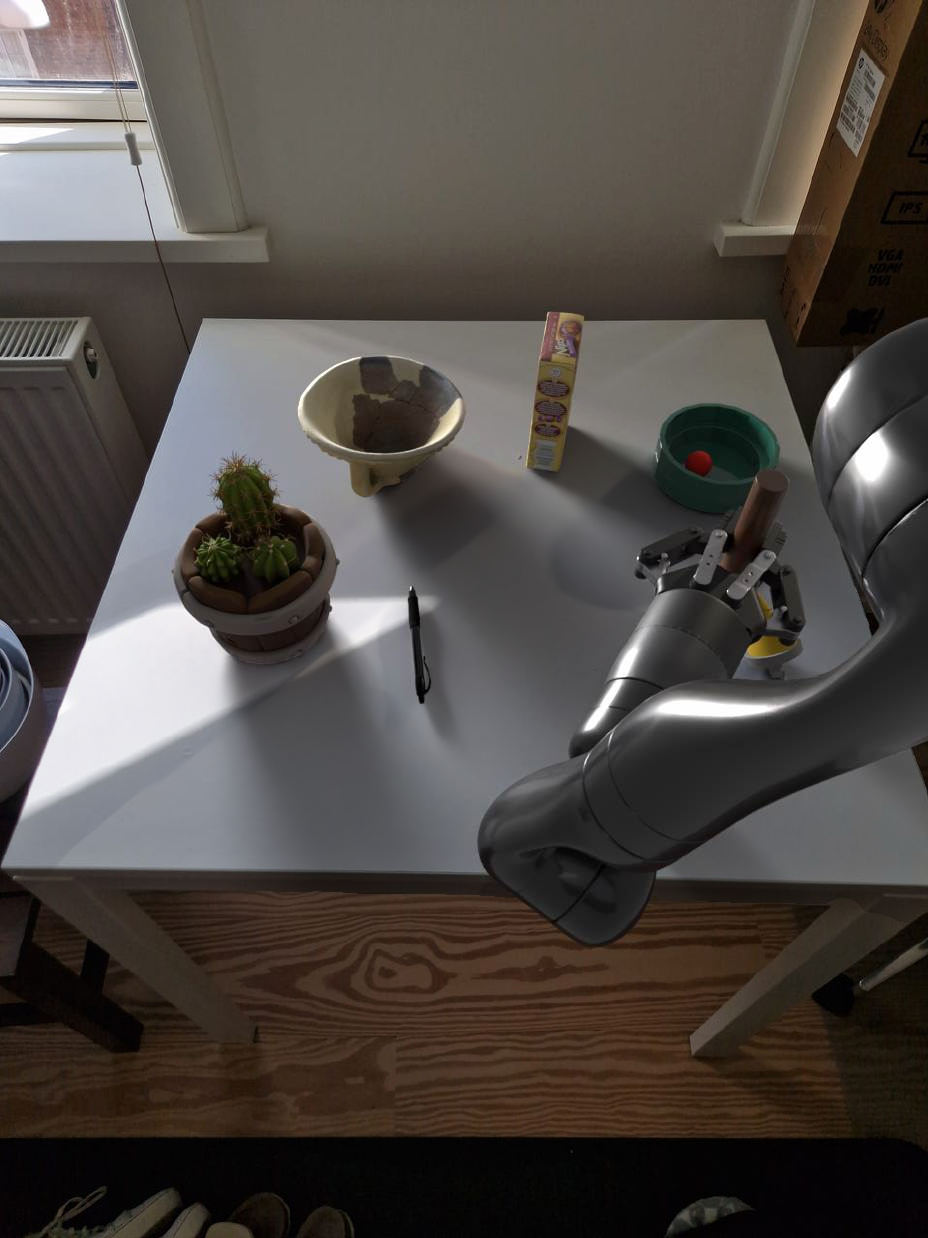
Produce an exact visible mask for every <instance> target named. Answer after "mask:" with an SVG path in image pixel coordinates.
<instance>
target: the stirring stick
mask: <svg viewBox="0 0 928 1238" xmlns="http://www.w3.org/2000/svg"><path fill="white" fill-rule="evenodd" d="M789 486H790V480H789V478H788V477H787V475H785V474H784V473H783V472H782V471H779V470H777V469H775V470H772V469H765V470H762V471H760V472H759V473H758V474H757V475H756V478H755V480H754V483H753V485H752V488H751V490H750V493H749V495H748V498H747V500H746V503H745V505H744V508H743V510H742V513H741V515H740V518H739V520H738V523H737V525H736V528H735V530H734V533H733V536H732V538H731V541H730V543H729V546H728V548H727V551H726V553H725V554H723V557H722V560H721V562H720V564H719V565H720V566H722V567H723V568H724V569H726V570H727V571H729V572H733V573H737V574H742V572H743V571H744V570H745V569H746V568H747V566H748V565H749V564H750V563H752V562H753V561H754V560H755V558H756V557H757V555H758V552H759V550H760V548H761V546H762V544H763V543H764V541H765V539H766V537H767V535H768V533H769V532H770V530H771V528H772V526H773V524H774V522H775V519H776V516H777V514H778V512H779V509H780V507H781V506H782V503H783V501H784V498H785V496H786V494H787V492H788V490H789V488H790V487H789Z"/></svg>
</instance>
